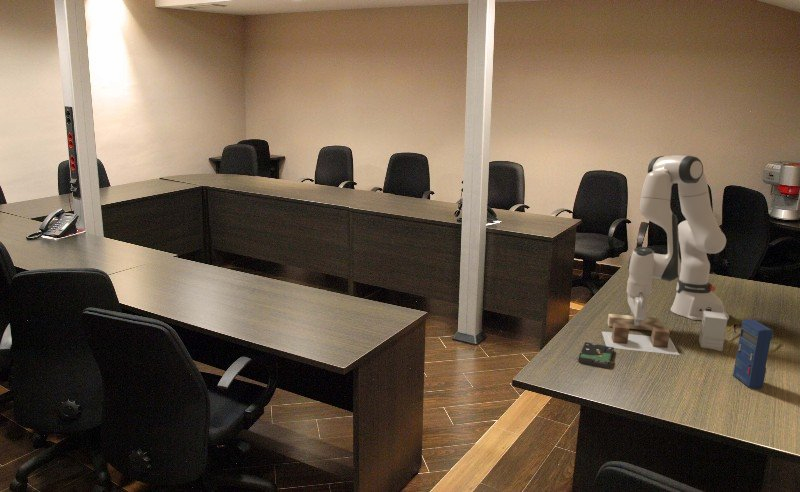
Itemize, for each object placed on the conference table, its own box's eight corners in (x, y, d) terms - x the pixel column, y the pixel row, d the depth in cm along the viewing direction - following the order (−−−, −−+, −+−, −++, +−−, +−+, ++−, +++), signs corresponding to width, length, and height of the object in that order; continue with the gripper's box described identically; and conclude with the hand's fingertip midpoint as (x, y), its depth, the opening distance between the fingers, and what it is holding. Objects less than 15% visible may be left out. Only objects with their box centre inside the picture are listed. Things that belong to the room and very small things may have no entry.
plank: (660, 327, 249) (661, 318, 248) (662, 331, 246) (663, 321, 245) (607, 323, 253) (608, 313, 252) (608, 326, 249) (609, 317, 248)
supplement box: (719, 344, 237) (724, 312, 234) (722, 352, 230) (727, 319, 227) (698, 341, 239) (703, 309, 236) (700, 348, 232) (705, 316, 229)
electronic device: (731, 375, 210) (741, 319, 206) (745, 375, 211) (756, 319, 206) (748, 388, 201) (759, 330, 196) (764, 388, 202) (775, 330, 197)
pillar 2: (664, 342, 235) (666, 327, 233) (667, 348, 230) (669, 332, 229) (650, 341, 236) (652, 326, 234) (653, 346, 231) (655, 331, 230)
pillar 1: (625, 338, 238) (627, 323, 236) (627, 343, 233) (629, 328, 231) (611, 337, 238) (613, 322, 237) (613, 342, 234) (615, 327, 232)
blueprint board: (669, 339, 240) (670, 338, 240) (679, 356, 225) (679, 354, 224) (601, 332, 244) (601, 331, 244) (606, 348, 229) (606, 347, 229)
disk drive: (583, 349, 230) (577, 363, 217) (584, 341, 230) (578, 356, 216) (613, 354, 226) (609, 369, 213) (614, 347, 226) (610, 362, 212)
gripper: (652, 298, 235) (648, 333, 238) (642, 282, 254) (638, 314, 258) (635, 297, 236) (631, 331, 239) (626, 281, 256) (622, 313, 259)
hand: (634, 322), depth 249 cm, fingers closed on plank, 4 cm apart
